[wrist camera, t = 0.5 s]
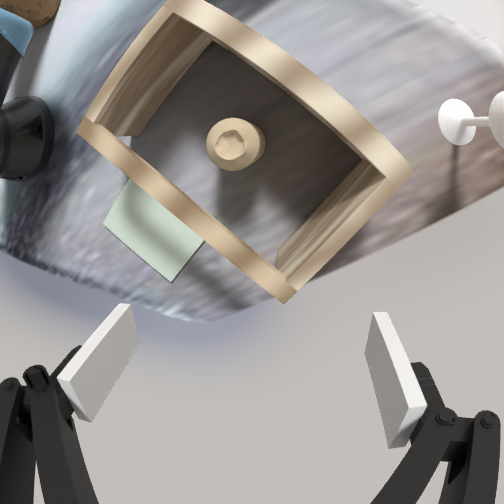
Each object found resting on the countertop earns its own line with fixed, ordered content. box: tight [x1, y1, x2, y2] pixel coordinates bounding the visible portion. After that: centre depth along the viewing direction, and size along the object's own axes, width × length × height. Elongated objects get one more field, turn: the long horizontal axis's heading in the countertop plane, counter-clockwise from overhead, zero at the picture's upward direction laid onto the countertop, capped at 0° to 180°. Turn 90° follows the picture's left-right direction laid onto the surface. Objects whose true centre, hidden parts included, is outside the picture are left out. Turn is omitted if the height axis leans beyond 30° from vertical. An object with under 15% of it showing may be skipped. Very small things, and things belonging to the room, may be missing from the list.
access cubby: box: [76, 0, 415, 304], centre depth 32 cm, size 28×18×13 cm, turn 50°
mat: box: [103, 178, 204, 282], centre depth 43 cm, size 14×11×1 cm
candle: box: [206, 118, 266, 171], centre depth 33 cm, size 6×6×10 cm
